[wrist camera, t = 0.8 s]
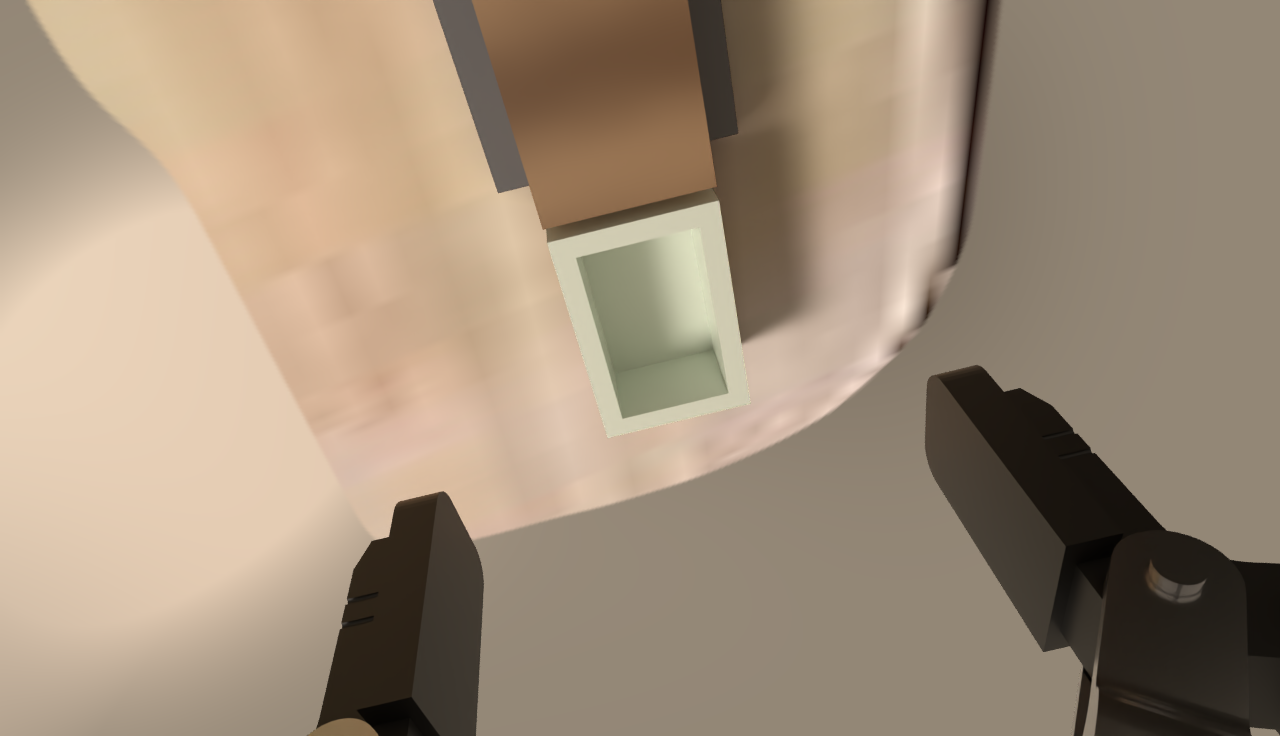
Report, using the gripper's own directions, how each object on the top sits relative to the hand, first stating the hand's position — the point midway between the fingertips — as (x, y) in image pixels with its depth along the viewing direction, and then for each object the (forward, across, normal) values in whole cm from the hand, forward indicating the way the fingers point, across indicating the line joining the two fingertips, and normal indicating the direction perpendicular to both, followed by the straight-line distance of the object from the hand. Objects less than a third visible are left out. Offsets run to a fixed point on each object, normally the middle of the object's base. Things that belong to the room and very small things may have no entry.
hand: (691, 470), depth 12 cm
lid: (+18, 0, -3) cm, 18 cm away
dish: (+18, 0, +7) cm, 20 cm away
